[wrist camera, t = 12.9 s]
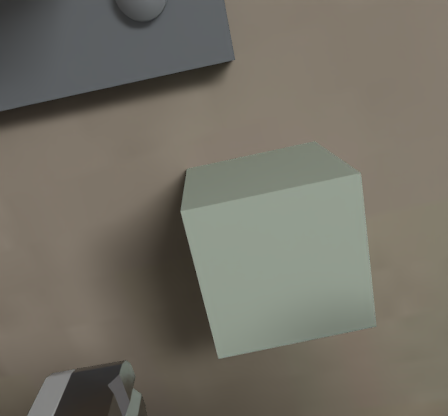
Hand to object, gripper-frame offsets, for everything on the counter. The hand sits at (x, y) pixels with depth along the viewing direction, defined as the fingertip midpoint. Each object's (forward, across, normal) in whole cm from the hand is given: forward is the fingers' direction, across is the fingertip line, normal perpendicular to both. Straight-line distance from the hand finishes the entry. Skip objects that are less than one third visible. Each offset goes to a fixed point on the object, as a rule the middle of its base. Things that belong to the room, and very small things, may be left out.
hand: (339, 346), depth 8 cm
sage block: (+9, 0, -1) cm, 9 cm away
